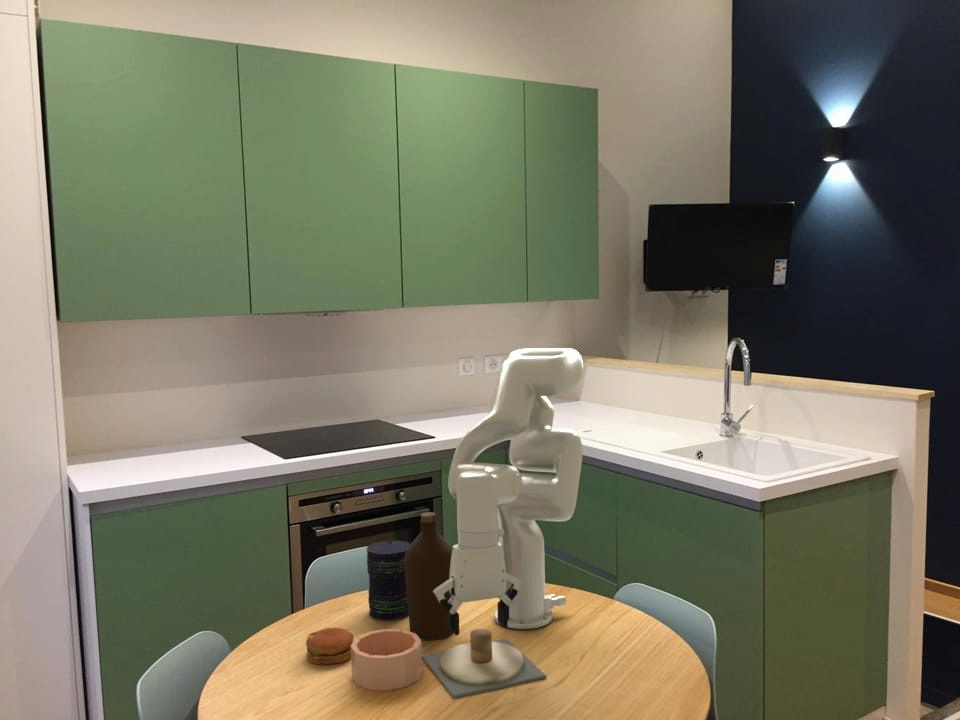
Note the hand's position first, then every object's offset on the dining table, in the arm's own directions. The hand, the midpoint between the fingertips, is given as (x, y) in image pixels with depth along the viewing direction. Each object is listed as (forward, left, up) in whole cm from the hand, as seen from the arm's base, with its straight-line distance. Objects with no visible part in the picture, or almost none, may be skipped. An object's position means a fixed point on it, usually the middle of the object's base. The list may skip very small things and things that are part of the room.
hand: (478, 628), depth 156 cm
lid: (-1, -1, -7) cm, 7 cm away
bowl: (+16, -6, -8) cm, 19 cm away
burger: (+24, -19, -8) cm, 32 cm away
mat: (-1, -1, -8) cm, 8 cm away
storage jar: (+7, -35, -8) cm, 36 cm away
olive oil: (+2, -21, -8) cm, 22 cm away
